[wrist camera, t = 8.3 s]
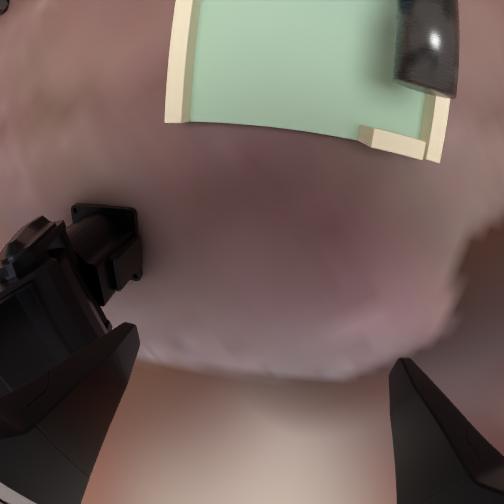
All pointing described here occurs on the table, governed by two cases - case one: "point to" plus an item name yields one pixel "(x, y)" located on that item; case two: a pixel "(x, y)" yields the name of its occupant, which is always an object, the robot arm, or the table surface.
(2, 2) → the coffee press
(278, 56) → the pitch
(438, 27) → the rod
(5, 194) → the table surface
